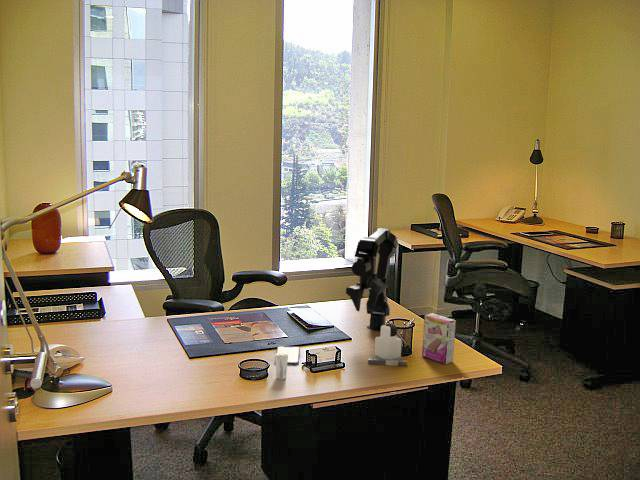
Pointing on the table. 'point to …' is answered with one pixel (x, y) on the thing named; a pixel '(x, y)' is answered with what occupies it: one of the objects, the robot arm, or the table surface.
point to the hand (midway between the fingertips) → (365, 308)
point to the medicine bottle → (388, 343)
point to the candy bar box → (438, 338)
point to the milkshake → (281, 364)
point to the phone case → (290, 354)
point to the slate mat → (392, 359)
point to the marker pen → (387, 362)
